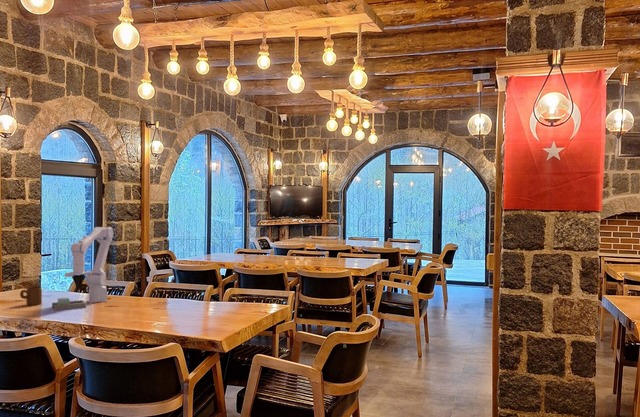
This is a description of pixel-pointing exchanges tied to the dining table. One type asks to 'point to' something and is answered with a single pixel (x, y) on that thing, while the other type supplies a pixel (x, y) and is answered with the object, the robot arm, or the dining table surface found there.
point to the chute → (69, 305)
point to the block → (63, 301)
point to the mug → (32, 296)
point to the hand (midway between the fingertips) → (78, 288)
